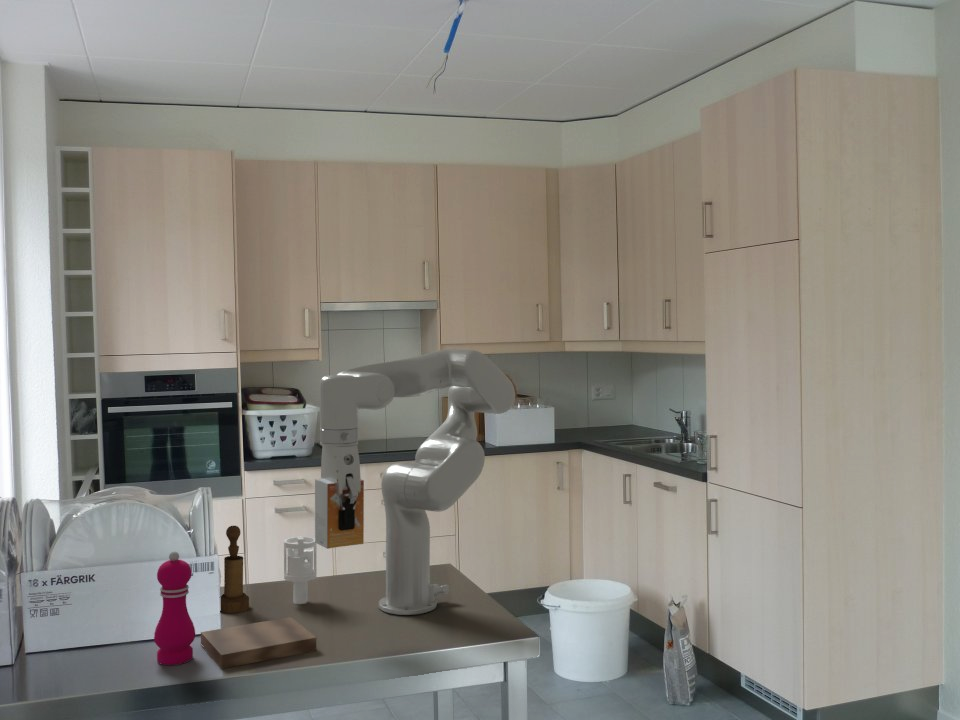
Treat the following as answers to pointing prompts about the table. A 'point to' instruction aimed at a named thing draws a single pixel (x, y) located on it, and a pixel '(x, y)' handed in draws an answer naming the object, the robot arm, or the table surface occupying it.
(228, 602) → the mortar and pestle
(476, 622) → the table surface
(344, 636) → the table surface
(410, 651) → the table surface
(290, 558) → the white slotted cylindrical holder
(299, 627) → the walnut board
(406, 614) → the robot arm
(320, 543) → the small box
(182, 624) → the pepper mill
